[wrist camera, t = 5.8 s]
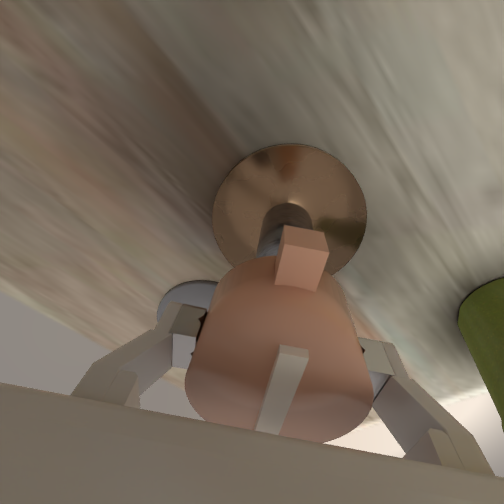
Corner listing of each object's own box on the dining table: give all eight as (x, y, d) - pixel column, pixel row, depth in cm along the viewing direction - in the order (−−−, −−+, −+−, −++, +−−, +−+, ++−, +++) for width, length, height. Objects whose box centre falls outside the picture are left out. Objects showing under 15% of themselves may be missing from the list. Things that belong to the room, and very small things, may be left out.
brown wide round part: (209, 266, 24) (178, 338, 17) (222, 129, 18) (183, 152, 11) (336, 291, 24) (356, 373, 17) (388, 160, 18) (451, 203, 11)
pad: (160, 346, 30) (157, 351, 29) (158, 271, 25) (155, 274, 24) (251, 364, 30) (251, 369, 29) (269, 292, 24) (269, 296, 24)
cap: (222, 207, 10) (187, 275, 6) (384, 237, 10) (442, 323, 6) (204, 364, 15) (178, 457, 11) (315, 385, 15) (327, 485, 11)
